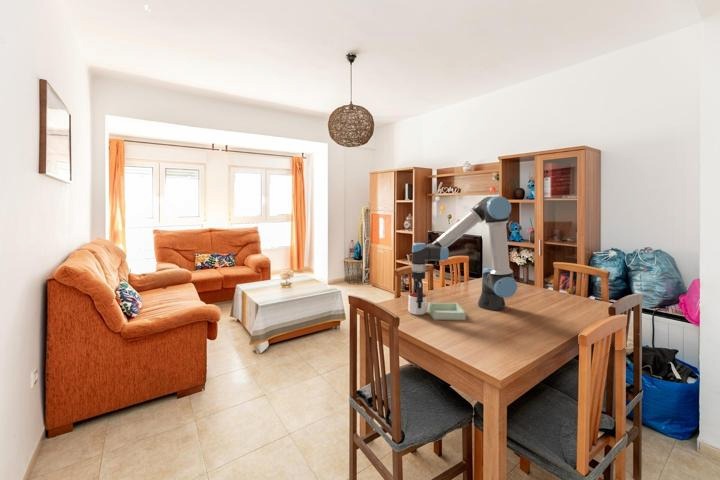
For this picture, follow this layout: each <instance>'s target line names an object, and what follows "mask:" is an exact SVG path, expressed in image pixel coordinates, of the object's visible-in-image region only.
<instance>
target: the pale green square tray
mask: <svg viewBox="0 0 720 480" xmlns="http://www.w3.org/2000/svg"><path fill="white" fill-rule="evenodd" d="M427 311H428V313H429V314H430V316H431V317H432V319H433V320H434V321H466V315H467V313H466V310H464V309H463V307H461V305H460V304H459V303H458V302H430V301H427Z"/></svg>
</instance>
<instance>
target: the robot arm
mask: <svg viewBox="0 0 720 480" xmlns="http://www.w3.org/2000/svg"><path fill="white" fill-rule="evenodd" d="M511 212H512V204H511V202H510V201H509V200H508V199H507V198H506V197H504V196H499V195H496V196H486V197H485V198H483V199H481V200H480V201H479V202H477V203H476V204H475V205H474V206H473V207H472V208H471V209H470V210H469V213H467V214H466V215H465V216H464V217H462V218H461V219H460V220H458V221H457V222H456V223H455V224H453V225H452V226H451V227H450V228H448V229H447V230H446V231H445V232H444V233H442V234H441V235H440V236H439V237H438V238H436V239H435V240H434V241H433V242H430V243H428V244H426V243H424V242H414V243H412V245H411V265H410V268H411V275H410V277H411V279H413V291H412V293H417V301H416V302H417V311H416V314H422V302H423V294H424V293H423V291H424V289H423V286H424V284H423V282H422V280H425V279H426V269H427V268H426V267H427V266H426V265H427V263H426V261H427V262H428V261H433V262H434V261H438V262H439V261H440V262H443V261H444V262H446V261H448V259H449V255H450V253H449V252H450V251H449V248H448V247H450V246H451V245H453V243H455V242H456V241H457V240H458V239H460V238H461V237H462V236H464V235H465V234H466V233H468V232H469V230H471V229H472V228H474V227H475V226H476V225H477V224H478V223H482V222H485V224H487V226H488V233H489V243H490V244H489V245H490V255H491V266H492V267H484V268H483V269H482V273H481V274H482V276H481V277H482V278H481V279H482V280H481V293H480V296H479V297H478V300H477V306H478V307H480V308H482V309H485V310H488V311H489V310H490V311H503V310H505V309H506V301H505V299H507V298H510V297H512V296H514V295H515V293H516V292H517V290H518V282H517V281H516V279H515V278H514V271H513V269H511V267H510V259H509V258H510V257H509V245H508V232H507V224H508V222H509V221H510V220H509V215H510V214H511Z"/></svg>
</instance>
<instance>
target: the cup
mask: <svg viewBox="0 0 720 480" xmlns="http://www.w3.org/2000/svg"><path fill="white" fill-rule="evenodd" d="M416 301H417V293H413V292H411V293H409V294H408V309H407V310H408V312H409V314H412V315H415V316H422V315H425V314H426V313H427V311H428V295H427V294H426V293H423V302H422V314H416V311H417V302H416Z"/></svg>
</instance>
